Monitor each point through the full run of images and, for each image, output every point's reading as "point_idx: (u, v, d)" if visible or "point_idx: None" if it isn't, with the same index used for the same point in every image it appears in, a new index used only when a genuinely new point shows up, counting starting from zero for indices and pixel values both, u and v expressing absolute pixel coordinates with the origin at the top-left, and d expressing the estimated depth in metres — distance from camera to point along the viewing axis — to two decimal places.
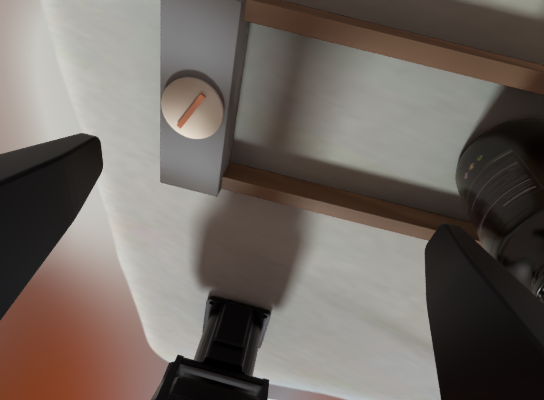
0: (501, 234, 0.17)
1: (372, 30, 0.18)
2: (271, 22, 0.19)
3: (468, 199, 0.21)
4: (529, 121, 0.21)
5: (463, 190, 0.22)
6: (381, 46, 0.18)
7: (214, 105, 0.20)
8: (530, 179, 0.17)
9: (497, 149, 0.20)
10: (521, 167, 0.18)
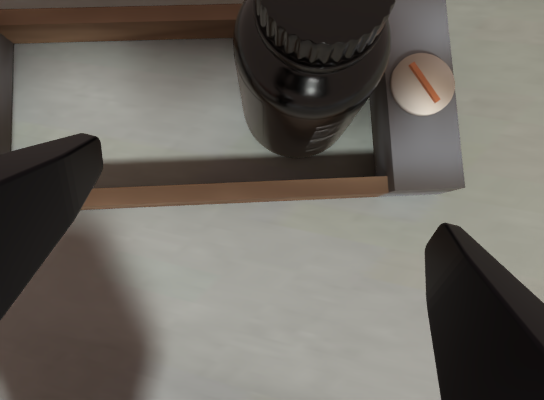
0: None
1: (103, 7, 0.22)
2: (16, 21, 0.21)
3: (244, 107, 0.20)
4: None
5: (245, 115, 0.21)
6: (114, 16, 0.22)
7: None
8: None
9: None
10: None
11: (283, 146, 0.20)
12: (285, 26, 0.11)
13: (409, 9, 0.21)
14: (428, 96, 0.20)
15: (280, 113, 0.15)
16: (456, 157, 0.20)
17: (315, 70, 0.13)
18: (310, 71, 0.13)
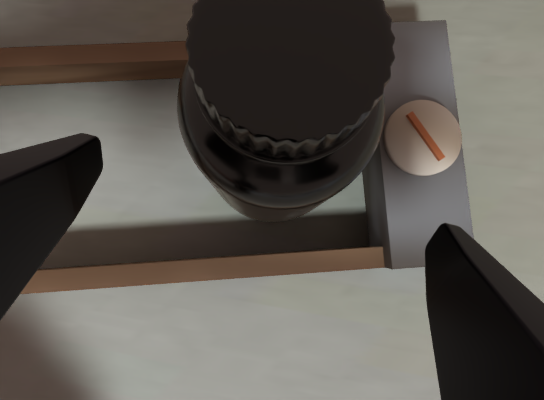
0: None
1: (36, 47, 0.18)
2: None
3: None
4: None
5: None
6: (50, 57, 0.18)
7: None
8: None
9: None
10: None
11: (255, 217, 0.17)
12: (230, 116, 0.08)
13: (404, 45, 0.18)
14: (430, 152, 0.17)
15: (241, 201, 0.12)
16: (465, 225, 0.17)
17: (280, 164, 0.09)
18: (274, 164, 0.09)
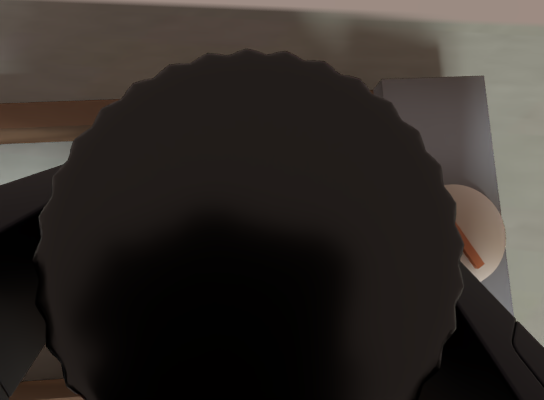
0: None
1: None
2: None
3: None
4: None
5: None
6: None
7: None
8: None
9: None
10: None
11: None
12: None
13: (430, 109, 0.14)
14: (463, 256, 0.13)
15: None
16: None
17: None
18: None
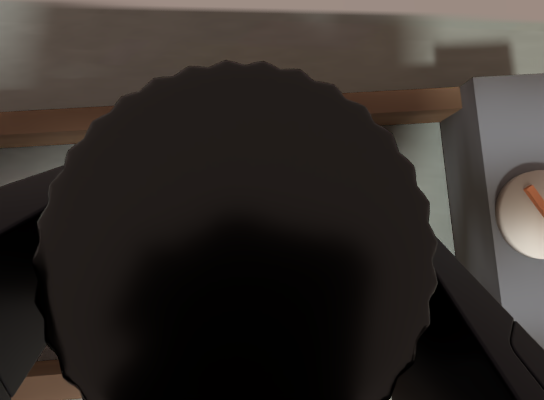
0: None
1: (89, 108, 0.16)
2: None
3: None
4: None
5: None
6: None
7: None
8: None
9: None
10: None
11: None
12: None
13: (516, 103, 0.15)
14: None
15: None
16: None
17: None
18: None
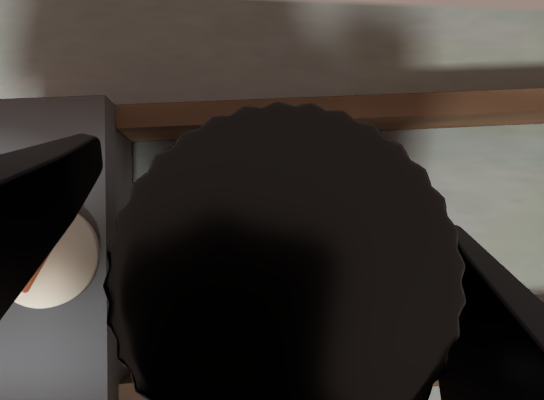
0: None
1: (273, 99, 0.15)
2: (151, 121, 0.15)
3: None
4: None
5: None
6: None
7: (81, 235, 0.13)
8: None
9: None
10: None
11: None
12: None
13: None
14: None
15: None
16: None
17: None
18: None
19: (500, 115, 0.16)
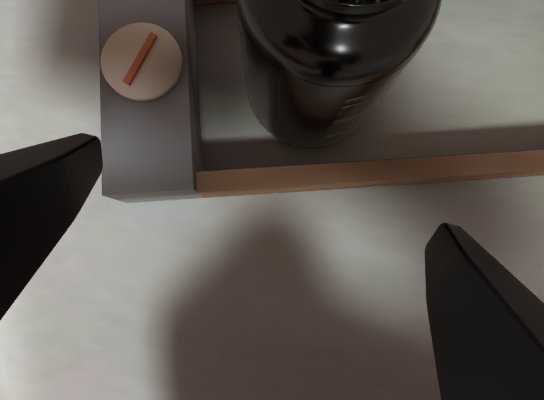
0: None
1: None
2: None
3: (250, 85, 0.16)
4: None
5: (251, 96, 0.17)
6: None
7: (169, 44, 0.16)
8: None
9: None
10: None
11: (299, 132, 0.17)
12: None
13: None
14: None
15: (300, 80, 0.12)
16: None
17: (353, 9, 0.09)
18: (346, 12, 0.09)
19: None
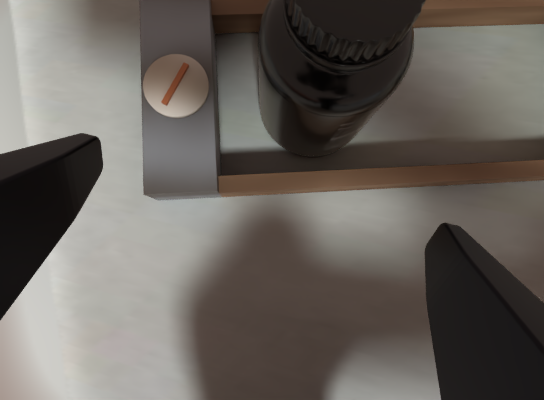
0: (258, 47, 0.16)
1: None
2: (235, 10, 0.22)
3: (264, 107, 0.20)
4: None
5: (264, 115, 0.21)
6: None
7: (198, 72, 0.20)
8: None
9: None
10: None
11: (303, 145, 0.20)
12: (320, 25, 0.12)
13: None
14: None
15: (306, 111, 0.16)
16: None
17: (345, 68, 0.13)
18: (341, 69, 0.13)
19: (470, 12, 0.23)
